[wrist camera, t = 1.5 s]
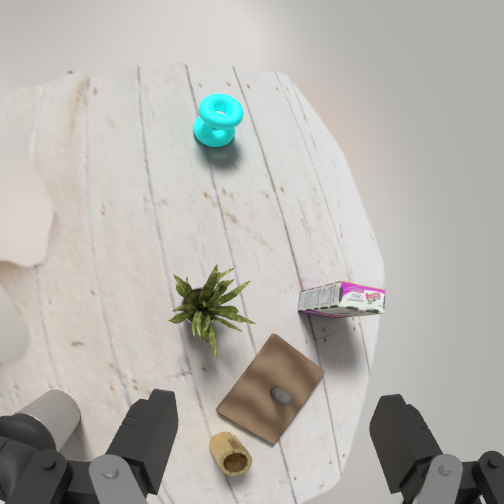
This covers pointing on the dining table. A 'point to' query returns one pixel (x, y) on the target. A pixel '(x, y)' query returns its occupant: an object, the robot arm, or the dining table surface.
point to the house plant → (207, 306)
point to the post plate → (262, 381)
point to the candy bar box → (342, 300)
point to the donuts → (217, 120)
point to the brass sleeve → (230, 454)
